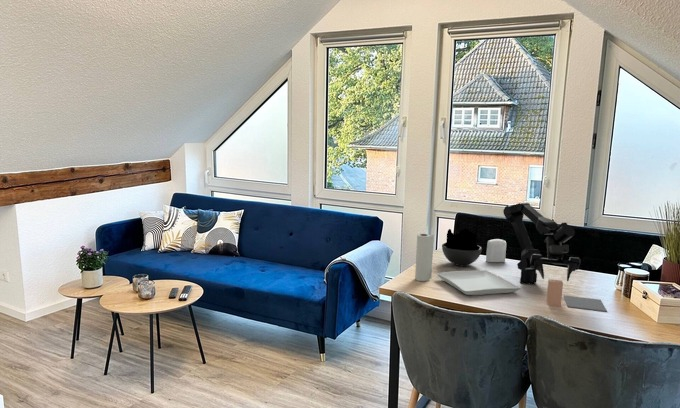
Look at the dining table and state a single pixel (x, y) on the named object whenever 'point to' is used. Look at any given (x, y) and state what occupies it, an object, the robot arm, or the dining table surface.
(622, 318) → the dining table surface
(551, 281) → the terracotta block
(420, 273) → the paper towel roll
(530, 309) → the dining table surface
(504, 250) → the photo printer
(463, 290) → the square plate
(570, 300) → the rubber mat
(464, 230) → the coal bowl
